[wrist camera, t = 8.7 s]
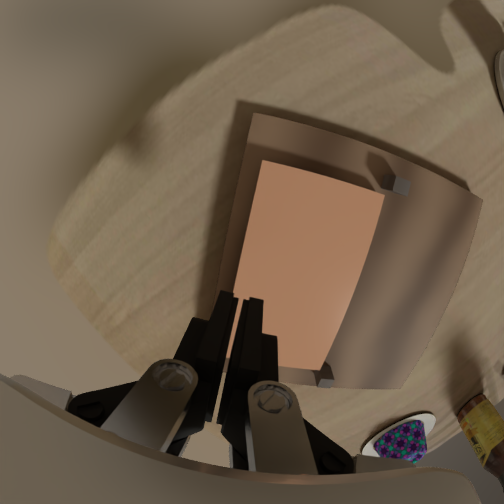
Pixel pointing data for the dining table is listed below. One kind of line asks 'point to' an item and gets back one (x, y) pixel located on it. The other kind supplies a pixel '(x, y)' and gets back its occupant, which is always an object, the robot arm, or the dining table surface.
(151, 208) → the dining table surface
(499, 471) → the sauce bottle
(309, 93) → the dining table surface
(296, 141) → the board
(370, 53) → the dining table surface
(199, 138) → the dining table surface
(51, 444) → the robot arm
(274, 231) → the tile
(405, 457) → the patterned brimmed hat
